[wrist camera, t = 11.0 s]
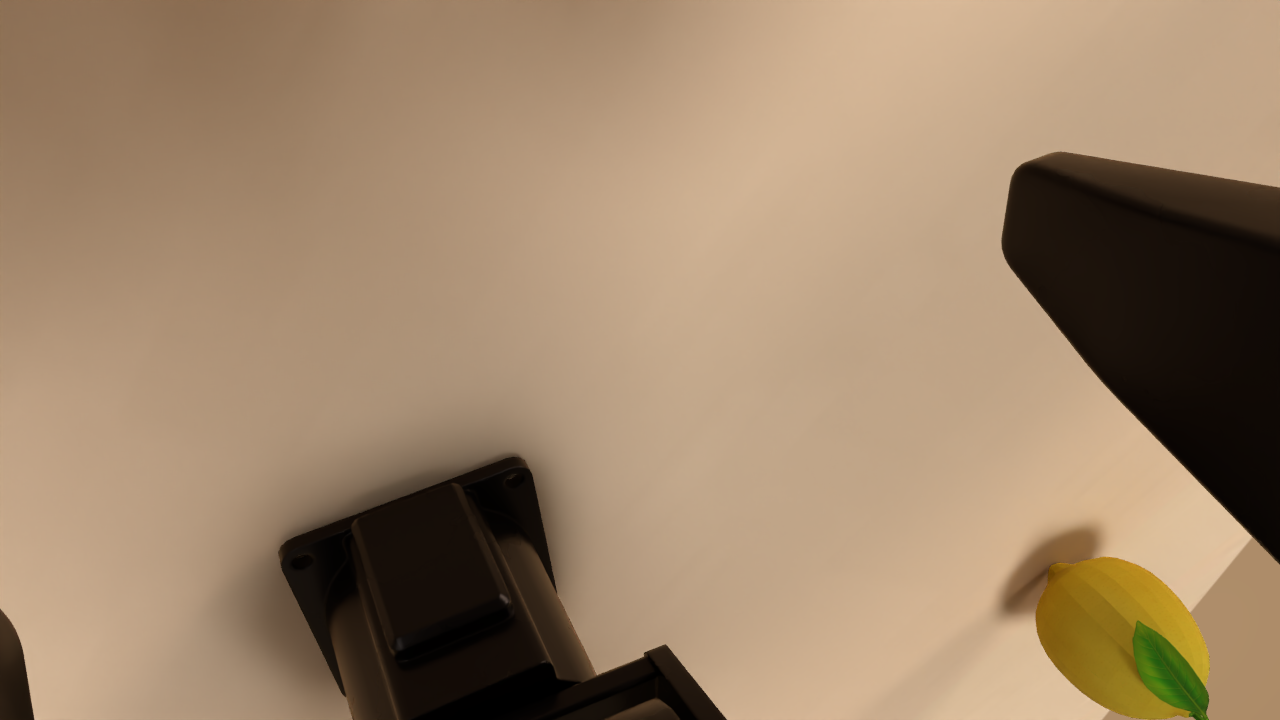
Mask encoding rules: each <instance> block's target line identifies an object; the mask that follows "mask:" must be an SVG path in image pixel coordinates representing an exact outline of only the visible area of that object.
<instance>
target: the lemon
mask: <svg viewBox="0 0 1280 720" xmlns="http://www.w3.org/2000/svg"><path fill="white" fill-rule="evenodd" d="M1036 627H1037V633H1038V636H1039V639H1040V642H1041V644H1042V646H1043V648H1044V650H1045V652H1046V654H1047V655H1048V657H1049V658H1050V659H1051V661H1052V662H1053V663H1054V665H1055V666H1056V667H1057V668H1058V670H1059V671H1060V672H1061V673H1062V674H1063V675H1064V676H1065V677H1066V678H1067V679H1068V680H1069V681H1070V682H1071V683H1072V684H1073V685H1074V686H1075V687H1076V688H1077V689H1079V690H1080V691H1081V692H1082V693H1083V694H1085V695H1086V696H1087V697H1089V698H1090V699H1092V700H1093V701H1095V702H1096V703H1098V704H1100V705H1101V706H1103V707H1105V708H1107V709H1109V710H1111V711H1114V712H1116V713H1118V714H1121V715H1125V716H1128V717H1131V718H1139V719H1148V720H1155V719H1167V718H1172V717H1175V716H1177V715H1179V716H1182V717H1185V718H1188V717H1194V718H1195V719H1196V720H1209V719H1208V717H1207V715H1206V710H1207V707H1208V703H1209V695H1208V692H1207V690H1206V688H1205V686H1206V683H1207V678H1208V673H1209V669H1210V664H1209V654H1208V651H1207V647H1206V644H1205V642H1204V639H1203V637H1202V635H1201V633H1200V630H1199V628H1198V626H1197V625H1196V623H1195V621H1194V619H1193V618H1192V616H1191V614H1190V612H1189V611H1188V610H1187V608H1186V607H1185V606H1184V604H1183V603H1182V601H1181V600H1180V599H1179V598H1178V597H1177V596H1176V595H1175V594H1174V593H1173V591H1172V590H1171V589H1170V588H1169V587H1168V586H1167V585H1165V584H1164V583H1163V582H1162V581H1161V580H1160V579H1159V578H1157V577H1156V576H1155V575H1153V574H1152V573H1151V572H1150V571H1148V570H1146V569H1144V568H1142V567H1140V566H1138V565H1136V564H1133V563H1130V562H1128V561H1125V560H1121V559H1118V558H1112V557H1100V558H1095V559H1089V560H1083V561H1081V562H1078V563H1076V564H1066V563H1057V564H1053V565H1051V566H1050V568H1049V570H1048V585H1047V587H1046V588H1045V590H1044V592H1043V593H1042V595H1041V598H1040V600H1039V602H1038V606H1037V609H1036Z"/></svg>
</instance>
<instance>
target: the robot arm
mask: <svg viewBox="0 0 1280 720" xmlns="http://www.w3.org/2000/svg"><path fill="white" fill-rule="evenodd" d="M1001 243H1002V250H1003V254H1004V257H1005V259H1006V261H1007V263H1008V265H1009V266H1010V268H1011V269H1012V270H1013V272H1014V273H1015V274H1016V275H1017V277H1018V278H1019V279H1020V281H1021V282H1022V283H1023V284H1024V286H1025V287H1026V288H1027V289H1028V291H1029V292H1030V293H1031V294H1032V296H1033V297H1034V298H1035V299H1036V301H1037V302H1038V303H1039V304H1040V306H1041V307H1042V308H1043V309H1044V311H1045V312H1046V313H1047V314H1048V316H1049V317H1050V318H1051V319H1052V321H1053V322H1054V323H1055V325H1056V326H1057V327H1058V328H1059V330H1060V331H1061V332H1062V333H1063V335H1064V336H1065V337H1066V338H1067V340H1068V341H1069V342H1070V343H1071V345H1072V346H1073V347H1074V348H1075V350H1076V351H1077V352H1078V353H1079V355H1080V356H1081V357H1082V358H1083V360H1084V361H1085V362H1086V363H1087V365H1088V366H1089V367H1090V368H1091V369H1092V371H1093V372H1094V373H1095V374H1096V375H1097V377H1098V378H1099V379H1100V380H1101V381H1102V382H1103V384H1104V385H1105V386H1106V387H1107V388H1108V389H1109V390H1110V391H1111V392H1112V393H1113V394H1114V395H1115V396H1116V398H1117V399H1118V400H1119V401H1120V402H1121V403H1122V404H1123V405H1124V406H1125V407H1126V408H1127V409H1128V410H1129V411H1130V412H1131V413H1132V414H1133V415H1134V416H1135V417H1136V418H1137V419H1138V420H1139V421H1140V422H1141V423H1142V424H1143V425H1144V426H1145V427H1146V428H1147V429H1148V430H1149V431H1150V432H1151V433H1152V434H1153V435H1154V437H1155V438H1156V439H1157V440H1158V441H1159V442H1160V443H1161V444H1162V445H1163V446H1164V447H1165V448H1166V449H1167V450H1168V451H1169V452H1170V453H1171V454H1172V455H1173V456H1174V457H1175V458H1176V459H1177V460H1178V461H1179V462H1180V463H1181V464H1182V465H1183V466H1184V467H1185V468H1186V469H1187V470H1188V471H1189V472H1190V473H1191V474H1192V475H1193V476H1194V477H1195V478H1196V479H1197V480H1198V481H1199V483H1200V484H1201V485H1202V486H1203V487H1204V488H1205V489H1206V490H1207V491H1208V492H1209V493H1210V494H1211V495H1212V496H1213V497H1214V498H1215V499H1216V500H1217V501H1218V502H1219V503H1220V504H1221V505H1222V506H1223V507H1224V508H1225V509H1226V510H1227V511H1228V512H1229V513H1230V514H1231V515H1232V516H1233V517H1234V518H1235V519H1236V520H1237V521H1238V522H1239V523H1240V524H1241V525H1242V526H1243V528H1244V529H1245V530H1246V531H1247V532H1248V533H1249V534H1250V535H1251V536H1252V537H1253V538H1254V539H1255V540H1256V541H1257V542H1258V543H1259V544H1260V545H1261V546H1262V547H1263V548H1264V549H1265V550H1266V551H1267V552H1268V553H1269V554H1270V555H1271V556H1272V557H1273V558H1274V559H1275V560H1276V561H1277V562H1278V563H1279V564H1280V188H1279V187H1273V186H1267V185H1261V184H1255V183H1249V182H1243V181H1237V180H1230V179H1224V178H1218V177H1212V176H1206V175H1200V174H1194V173H1188V172H1182V171H1176V170H1170V169H1164V168H1158V167H1152V166H1146V165H1140V164H1134V163H1128V162H1122V161H1116V160H1110V159H1104V158H1098V157H1092V156H1086V155H1080V154H1073V153H1067V152H1054V153H1050V154H1047V155H1044V156H1042V157H1039V158H1036V159H1033V160H1031V161H1028V162H1025V163H1023V164H1021V165H1020V166H1019V167H1018V168H1017V169H1016V170H1015V172H1014V174H1013V175H1012V178H1011V182H1010V187H1009V194H1008V200H1007V207H1006V213H1005V219H1004V226H1003V232H1002V241H1001ZM515 474H516V476H514V477H513V478H511V479H508V477H510V476H512V475H515ZM278 554H279V560H280V564H281V568H282V571H283V573H284V575H285V577H286V579H287V581H288V583H289V586H290V588H291V590H292V592H293V594H294V596H295V598H296V600H297V602H298V604H299V606H300V608H301V610H302V612H303V614H304V616H305V619H306V621H307V623H308V625H309V627H310V629H311V631H312V633H313V635H314V637H315V639H316V641H317V643H318V645H319V647H320V649H321V651H322V654H323V656H324V658H325V660H326V662H327V664H328V666H329V668H330V670H331V672H332V674H333V676H334V678H335V680H336V682H337V684H338V687H339V689H340V691H341V693H342V694H343V695H344V696H345V697H347V701H348V704H349V708H350V712H351V716H352V719H353V720H727V719H726V718H725V717H724V716H723V715H722V713H721V712H720V711H719V710H718V708H717V707H716V706H715V705H714V703H713V702H712V701H711V700H710V698H709V697H708V696H707V695H706V693H705V692H704V691H703V690H702V688H701V687H700V686H699V685H698V684H697V682H696V681H695V680H694V679H693V677H692V676H691V675H690V674H689V672H688V671H687V670H686V669H685V667H684V666H683V665H682V664H681V662H680V661H679V660H678V659H677V657H676V656H675V655H674V654H673V653H672V651H671V650H670V649H669V648H668V646H667V645H666V644H665V645H662V646H660V647H657V648H655V649H652V650H650V651H647V652H645V653H644V657H642V658H640V659H637V660H635V661H632V662H630V663H627V664H625V665H622V666H620V667H617V668H615V669H612V670H610V671H607V672H605V673H602V674H599V675H597V674H596V672H595V670H594V668H593V666H592V664H591V662H590V660H589V658H588V656H587V654H586V652H585V650H584V648H583V646H582V644H581V642H580V640H579V638H578V636H577V634H576V632H575V630H574V628H573V625H572V623H571V621H570V619H569V617H568V615H567V613H566V611H565V609H564V607H563V605H562V603H561V601H560V599H559V597H558V595H557V590H556V585H555V580H554V575H553V571H552V566H551V561H550V556H549V552H548V547H547V542H546V537H545V533H544V528H543V523H542V518H541V513H540V509H539V504H538V499H537V494H536V490H535V485H534V480H533V475H532V473H531V471H530V469H529V467H528V466H527V464H526V462H525V460H523V459H521V458H519V457H511V458H506V459H504V460H501V461H498V462H495V463H493V464H490V465H487V466H485V467H482V468H479V469H477V470H474V471H471V472H469V473H466V474H463V475H460V476H458V477H455V478H452V479H450V480H447V481H444V482H442V483H439V484H436V485H434V486H431V487H428V488H426V489H423V490H420V491H417V492H415V493H412V494H409V495H407V496H404V497H401V498H399V499H396V500H393V501H391V502H388V503H385V504H382V505H380V506H377V507H374V508H372V509H369V510H366V511H364V512H361V513H358V514H356V515H353V516H350V517H347V518H345V519H342V520H339V521H337V522H334V523H331V524H329V525H326V526H323V527H321V528H318V529H315V530H313V531H310V532H307V533H304V534H302V535H299V536H296V537H294V538H292V539H290V540H288V541H286V542H285V543H284V544H283V545H282V546H281V548H280V550H279V552H278ZM304 554H306V556H304V557H301V558H296V557H297V556H299V555H304ZM0 720H34V715H33V709H32V703H31V696H30V690H29V684H28V678H27V672H26V666H25V660H24V654H23V649H22V645H21V642H20V639H19V637H18V634H17V632H16V630H15V628H14V626H13V624H12V623H11V621H10V620H9V619H8V617H7V616H6V615H5V614H4V613H3V611H2V610H1V609H0Z"/></svg>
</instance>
